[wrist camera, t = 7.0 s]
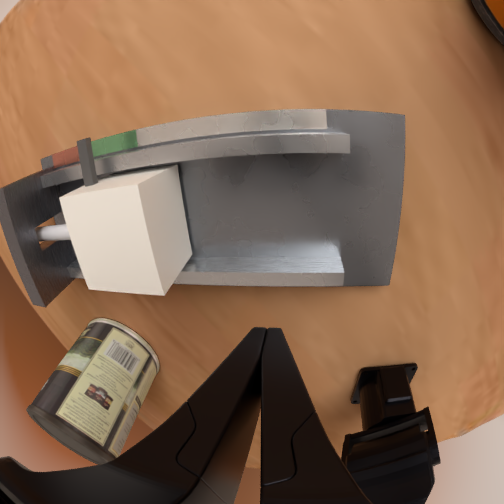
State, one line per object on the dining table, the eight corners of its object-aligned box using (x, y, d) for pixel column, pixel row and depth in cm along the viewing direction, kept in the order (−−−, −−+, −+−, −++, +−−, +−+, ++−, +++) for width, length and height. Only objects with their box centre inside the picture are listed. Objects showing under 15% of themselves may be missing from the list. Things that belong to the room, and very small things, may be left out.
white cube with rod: (192, 254, 20) (164, 295, 15) (55, 254, 22) (22, 281, 18) (171, 119, 15) (128, 123, 11) (30, 161, 18) (-10, 177, 13)
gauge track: (385, 276, 20) (412, 342, 13) (81, 271, 24) (38, 313, 18) (398, 114, 14) (454, 119, 8) (49, 156, 19) (-11, 179, 13)
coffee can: (93, 356, 32) (44, 433, 19) (83, 304, 27) (11, 393, 14) (159, 387, 32) (120, 477, 19) (163, 340, 27) (105, 456, 14)
